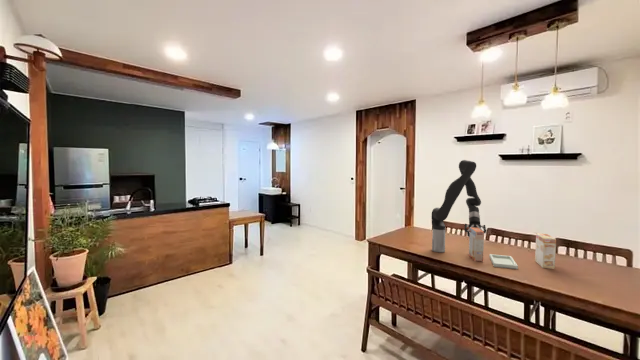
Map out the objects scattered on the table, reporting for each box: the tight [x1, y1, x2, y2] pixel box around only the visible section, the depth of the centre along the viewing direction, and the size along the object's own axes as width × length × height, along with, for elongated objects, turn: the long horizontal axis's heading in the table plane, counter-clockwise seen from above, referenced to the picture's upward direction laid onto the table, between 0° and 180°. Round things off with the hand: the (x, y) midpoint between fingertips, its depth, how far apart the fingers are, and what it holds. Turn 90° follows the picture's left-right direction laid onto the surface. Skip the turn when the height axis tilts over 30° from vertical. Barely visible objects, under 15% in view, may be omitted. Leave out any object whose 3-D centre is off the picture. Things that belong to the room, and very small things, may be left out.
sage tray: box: [488, 253, 519, 270], centre depth 203 cm, size 13×21×2 cm, turn 157°
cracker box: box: [468, 227, 485, 262], centre depth 213 cm, size 14×6×21 cm, turn 168°
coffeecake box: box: [534, 233, 557, 270], centre depth 199 cm, size 15×7×20 cm, turn 160°
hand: (475, 237), depth 219 cm, fingers open, 8 cm apart
